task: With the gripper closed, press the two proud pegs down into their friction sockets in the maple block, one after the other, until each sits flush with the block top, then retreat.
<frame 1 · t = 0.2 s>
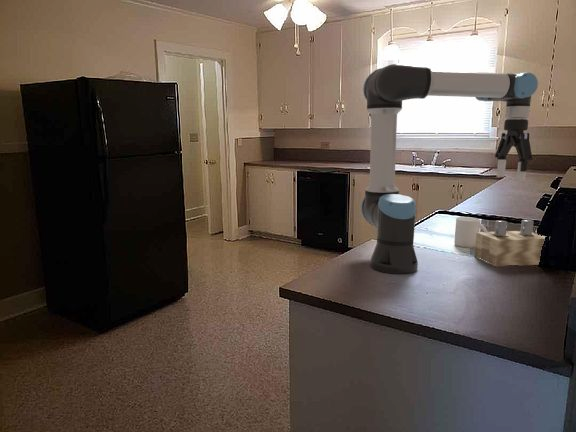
hand: (510, 179, 158), 27 cm above the worktop, fingers open, 13 cm apart
socket block: (510, 260, 152), on the worktop
mug: (470, 246, 171), on the worktop
peg 2: (526, 233, 151), point 10 cm above the worktop, slide at 5.0 cm
peg 1: (500, 234, 150), point 10 cm above the worktop, slide at 5.0 cm
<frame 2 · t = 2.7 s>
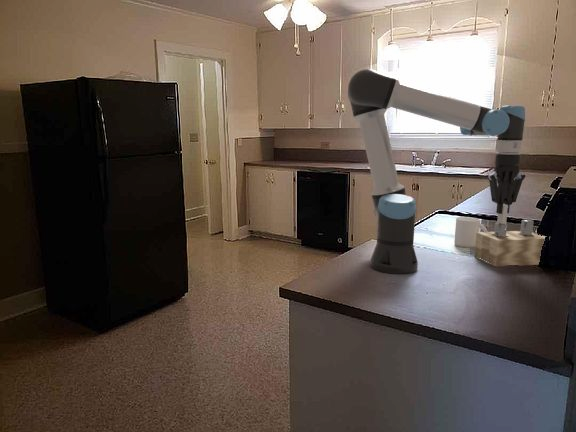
hand: (501, 222, 149), 14 cm above the worktop, fingers closed
peg 1: (499, 236, 150), point 9 cm above the worktop, slide at 4.3 cm, touching gripper
everything else where it was.
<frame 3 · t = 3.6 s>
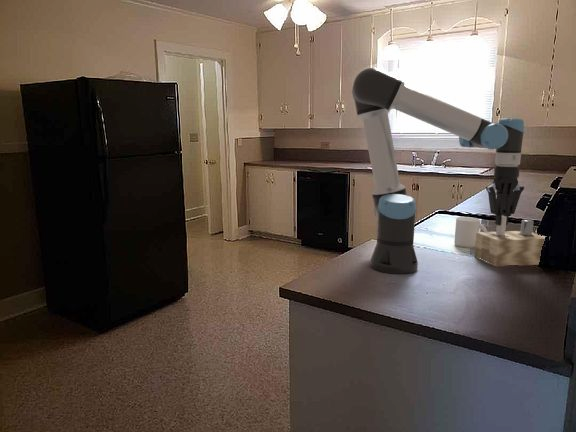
hand: (500, 234, 150), 10 cm above the worktop, fingers closed
peg 1: (498, 247, 151), point 5 cm above the worktop, slide at 0.3 cm, touching gripper
everything else where it was.
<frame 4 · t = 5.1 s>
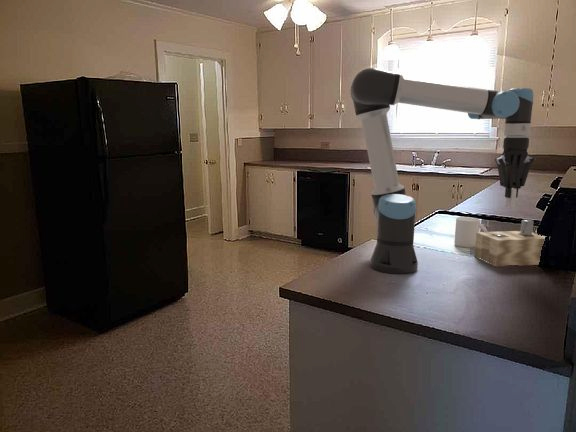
hand: (510, 207, 148), 19 cm above the worktop, fingers closed
peg 1: (498, 247, 151), point 5 cm above the worktop, slide at 0.2 cm
everything else where it was.
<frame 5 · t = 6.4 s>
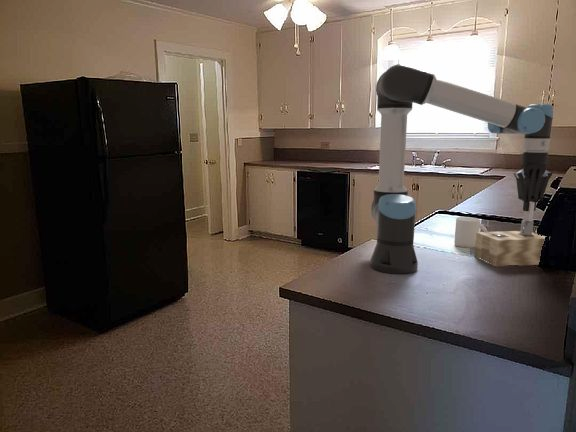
hand: (528, 220, 151), 14 cm above the worktop, fingers closed
peg 2: (526, 233, 151), point 9 cm above the worktop, slide at 4.9 cm, touching gripper
everything else where it was.
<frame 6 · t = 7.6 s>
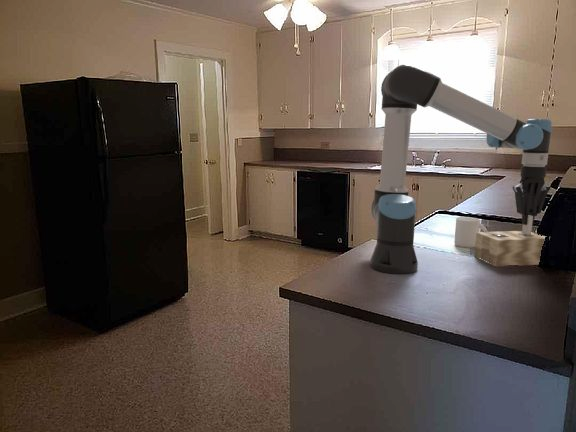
hand: (526, 233, 151), 9 cm above the worktop, fingers closed
peg 2: (524, 246, 152), point 5 cm above the worktop, slide at 0.2 cm, touching gripper
everything else where it was.
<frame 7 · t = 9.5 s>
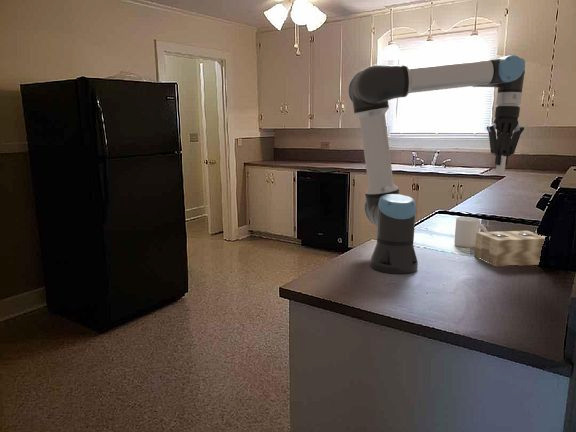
hand: (499, 174, 154), 29 cm above the worktop, fingers closed
peg 2: (524, 246, 152), point 5 cm above the worktop, slide at 0.2 cm
everything else where it was.
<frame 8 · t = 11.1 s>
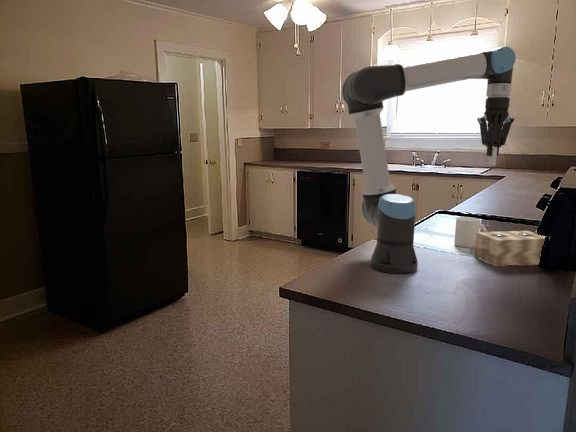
hand: (491, 165, 155), 32 cm above the worktop, fingers closed
nothing on the worktop moved.
at the end: peg 1 slide at 0.2 cm; peg 2 slide at 0.2 cm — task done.
